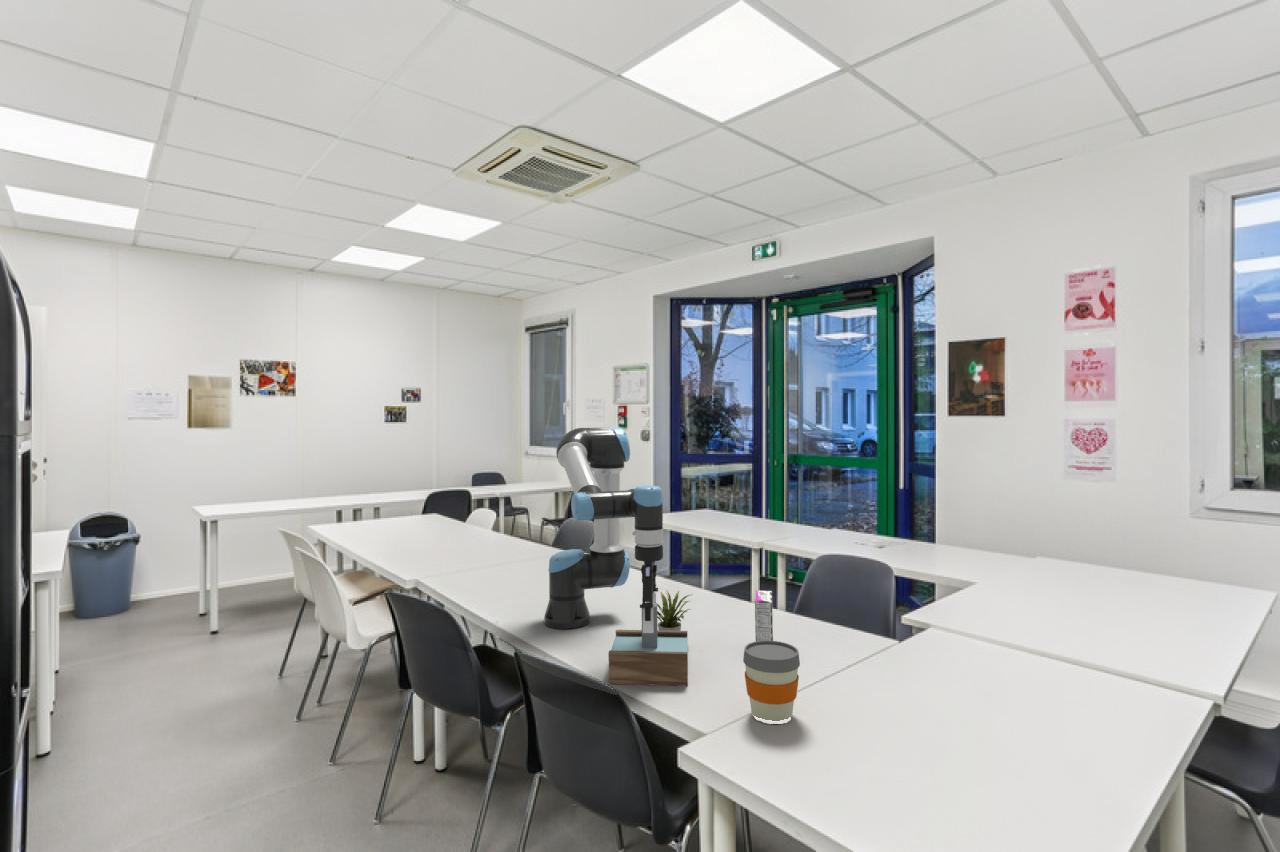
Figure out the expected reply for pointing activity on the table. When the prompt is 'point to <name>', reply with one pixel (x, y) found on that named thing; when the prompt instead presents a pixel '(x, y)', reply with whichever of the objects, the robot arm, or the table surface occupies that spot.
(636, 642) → the cover plate
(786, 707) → the reusable coffee cup
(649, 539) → the robot arm
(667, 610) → the house plant
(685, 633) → the walnut box
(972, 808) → the table surface
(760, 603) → the candy bar box
